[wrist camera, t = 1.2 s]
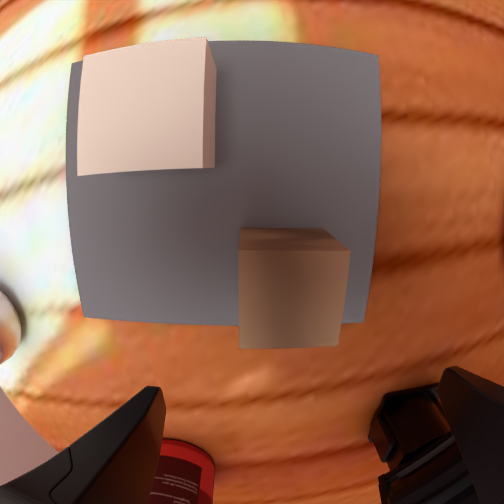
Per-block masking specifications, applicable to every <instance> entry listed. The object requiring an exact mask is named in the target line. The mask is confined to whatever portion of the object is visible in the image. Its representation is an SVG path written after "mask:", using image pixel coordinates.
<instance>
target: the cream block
mask: <svg viewBox="0 0 504 504" xmlns="http://www.w3.org/2000/svg"><path fill="white" fill-rule="evenodd" d="M216 76H217V69H216V66H215V63H214V59H213V56H212V53H211V50H210V47H209V44H208V41H207V38H206V37H199V38H186V39H176V40H167V41H159V42H151V43H145V44H138V45H133V46H127V47H122V48H117V49H112V50H107V51H103V52H98V53H94V54H90V55H86V56H84V59H83V66H82V75H81V84H80V95H79V109H78V131H77V176H82V175H92V174H103V173H115V172H128V171H143V170H161V169H187V168H215V113H216Z"/></svg>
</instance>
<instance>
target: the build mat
mask: <svg viewBox="0 0 504 504" xmlns="http://www.w3.org/2000/svg"><path fill="white" fill-rule="evenodd" d="M208 44H209V47H210V50H211V53H212V56H213V59H214V63H215V66H216V69H217V76H216V113H215V168H187V169H161V170H143V171H128V172H115V173H103V174H92V175H82V176H77V131H78V109H79V95H80V84H81V75H82V66H83V61H79V62H76V63H72V67H71V74H70V83H69V94H68V106H67V124H66V185H67V203H68V216H69V227H70V237H71V245H72V253H73V260H74V267H75V273H76V279H77V285H78V290H79V295H80V301H81V305H82V310H83V315H84V317H88V318H98V319H109V320H121V321H135V322H150V323H167V324H190V325H226V326H239V268H238V250H239V239H240V229H241V228H313V229H325V230H326V231H328V232H329V233H330V234H331V235H332V236H333V237H335V238H336V239H337V240H338V241H339V242H341V243H342V244H343V245H344V246H345V247H346V248H348V249H349V250H350V251H351V252H350V262H349V271H348V280H347V288H346V296H345V303H344V310H343V317H342V324H344V323H362V322H364V318H365V312H366V306H367V300H368V294H369V288H370V281H371V274H372V266H373V258H374V250H375V241H376V231H377V220H378V207H379V192H380V172H381V92H380V73H379V59H378V55H375V54H370V53H365V52H360V51H354V50H348V49H342V48H336V47H328V46H321V45H312V44H302V43H290V42H274V41H208Z"/></svg>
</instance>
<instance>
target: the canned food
mask: <svg viewBox="0 0 504 504" xmlns="http://www.w3.org/2000/svg"><path fill="white" fill-rule="evenodd" d="M214 475H215V469H214V466H213V463H212V460H211V458H210V457H209V456H208V455H207V454H206V453H205V452H204V451H202V450H200V449H199V448H197V447H195V446H193V445H191V444H188V443H185V442H181V441H177V440H169V439H162V445H161V452H160V457H159V461H158V465H157V469H156V473H155V476H154V480H153V484H152V488H151V492H150V496H149V499H148V503H147V504H212V503H213V489H214Z"/></svg>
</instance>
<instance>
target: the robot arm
mask: <svg viewBox="0 0 504 504" xmlns="http://www.w3.org/2000/svg"><path fill="white" fill-rule="evenodd" d="M438 398H440V401H441V404H442V405H441V404H440V402H439V401H438ZM165 416H166V406H165V402H164V397H163V393H162V390H161V388H160V387H156V386H146V387H145V388H144V389H142V390H141V391H140V392H139V393H137V394H136V395H135V396H134V397H132V398H131V399H130V400H128V401H127V402H126V403H125V404H123V405H122V406H121V407H119V408H118V409H117V410H116V411H114V412H113V413H112V414H110V415H109V416H108V417H107V418H105V419H104V420H103V421H101V422H100V423H99V424H97V425H96V426H95V427H93V428H92V429H91V430H89V431H88V432H87V433H86V434H84V435H83V436H82V437H80V438H79V439H77V440H76V441H75V442H73V443H72V444H71V445H70V446H69V447H70V448H69V447H67V448H65V449H64V450H62V451H61V452H60V453H58V454H57V455H55V456H54V457H52V458H51V459H50V460H48V461H47V462H45V463H43V464H41V465H40V466H38V467H36V468H35V469H33V470H31V471H29V472H27V473H25V474H24V475H22V476H20V477H18V478H16V479H14V480H12V481H10V482H8V483H6V484H4V485H1V486H0V504H147V503H148V499H149V496H150V492H151V488H152V484H153V480H154V476H155V473H156V469H157V465H158V461H159V457H160V452H161V445H162V437H163V430H164V423H165ZM368 439H369V441H370V442H374V445H375V447H376V449H377V452H378V454H379V457H380V459H381V461H382V462H383V463H385V462H387V464H388V467H389V469H390V471H389V472H388V473H386V474H382V475H381V476H379V477H378V480H379V485H378V486H379V491H380V497H381V502H382V504H504V387H503V386H501V385H498V384H496V383H494V382H492V381H489V380H487V379H485V378H482V377H480V376H478V375H476V374H473V373H471V372H469V371H466V370H464V369H462V368H460V367H457V366H452V367H448V368H446V369H445V370H444V372H443V375H442V377H441V380H440V382H439V384H435V385H430V386H426V387H421V388H416V389H411V390H406V391H401V392H395V393H389V394H387V395H385V396H384V397H383V400H382V402H381V405H380V408H379V411H378V414H377V415H376V417H375V420H374V422H373V425H372V427H371V430H370V434H369V437H368Z"/></svg>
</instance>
